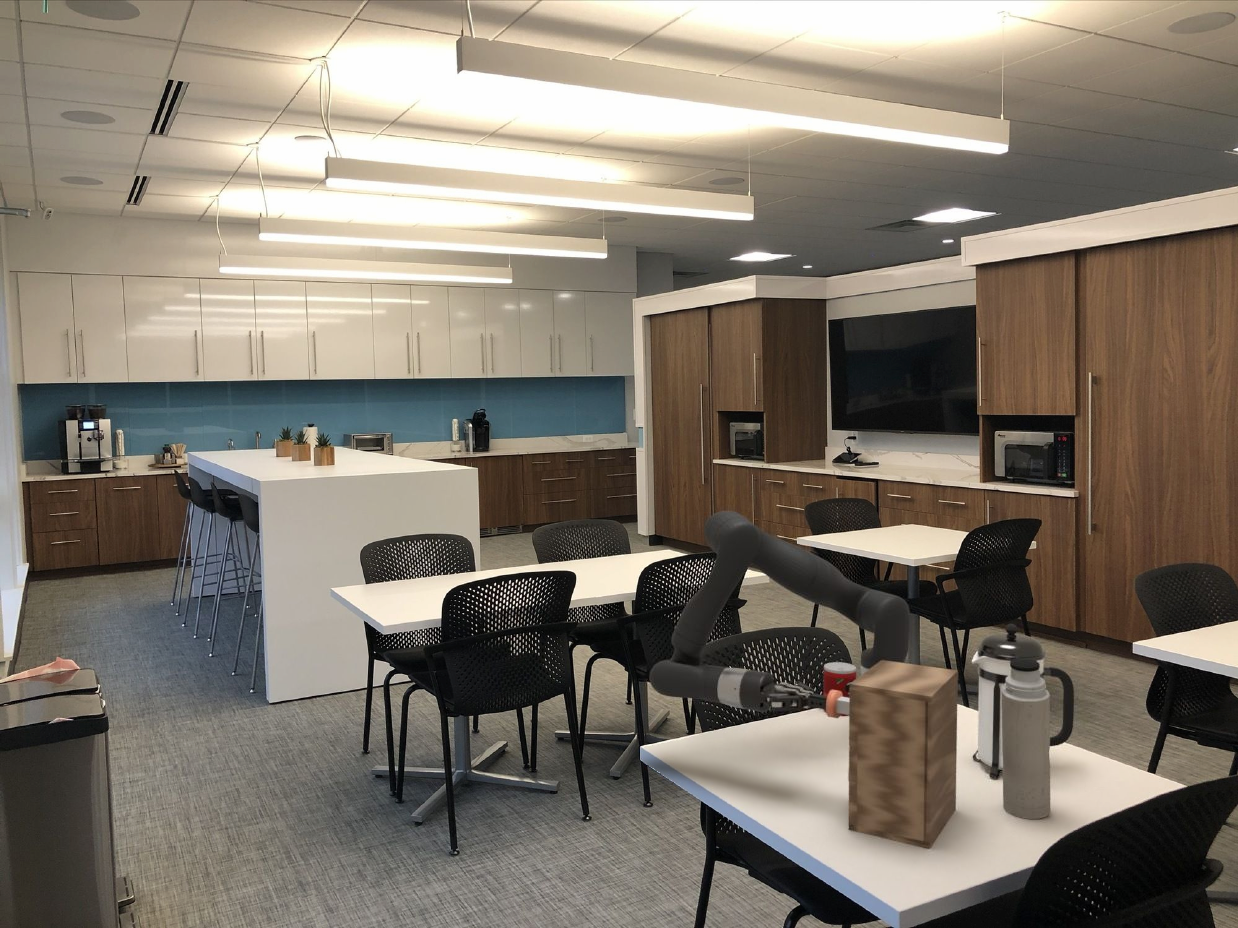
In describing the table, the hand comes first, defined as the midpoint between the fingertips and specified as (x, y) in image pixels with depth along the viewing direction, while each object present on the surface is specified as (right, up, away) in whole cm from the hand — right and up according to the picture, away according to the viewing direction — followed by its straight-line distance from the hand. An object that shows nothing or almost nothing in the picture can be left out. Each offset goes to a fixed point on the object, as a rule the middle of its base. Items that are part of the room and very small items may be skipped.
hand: (830, 703), depth 180 cm
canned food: (+14, -16, +54) cm, 58 cm away
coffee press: (+41, -18, +17) cm, 48 cm away
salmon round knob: (+6, -3, -4) cm, 7 cm away
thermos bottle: (+35, -19, -3) cm, 40 cm away
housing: (+12, -19, -6) cm, 23 cm away
